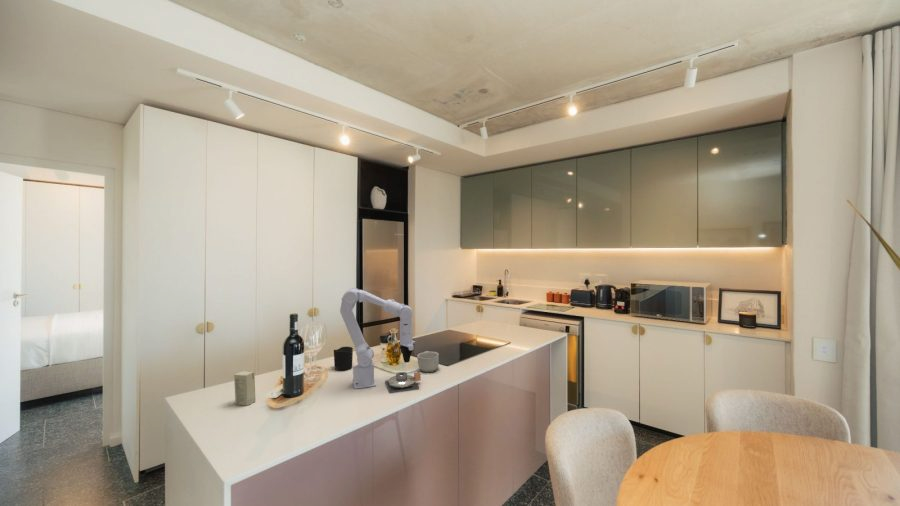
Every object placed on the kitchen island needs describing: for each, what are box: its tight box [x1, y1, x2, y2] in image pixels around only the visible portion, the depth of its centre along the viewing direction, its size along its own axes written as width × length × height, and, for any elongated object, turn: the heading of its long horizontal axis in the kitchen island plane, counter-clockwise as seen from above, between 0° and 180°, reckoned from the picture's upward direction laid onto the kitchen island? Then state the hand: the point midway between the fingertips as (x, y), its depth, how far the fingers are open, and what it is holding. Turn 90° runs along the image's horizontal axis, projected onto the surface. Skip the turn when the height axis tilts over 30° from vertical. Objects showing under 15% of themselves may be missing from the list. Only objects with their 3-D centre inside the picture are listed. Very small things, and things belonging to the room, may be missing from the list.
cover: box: [395, 371, 408, 382], centre depth 159 cm, size 5×5×3 cm
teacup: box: [416, 350, 440, 373], centre depth 181 cm, size 14×11×8 cm
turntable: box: [387, 371, 422, 388], centre depth 160 cm, size 15×12×3 cm
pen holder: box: [333, 346, 354, 372], centre depth 183 cm, size 9×9×10 cm
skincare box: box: [233, 370, 257, 406], centre depth 143 cm, size 6×4×12 cm
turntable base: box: [384, 379, 420, 394], centre depth 160 cm, size 13×13×1 cm
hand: (406, 361), depth 163 cm, fingers closed
